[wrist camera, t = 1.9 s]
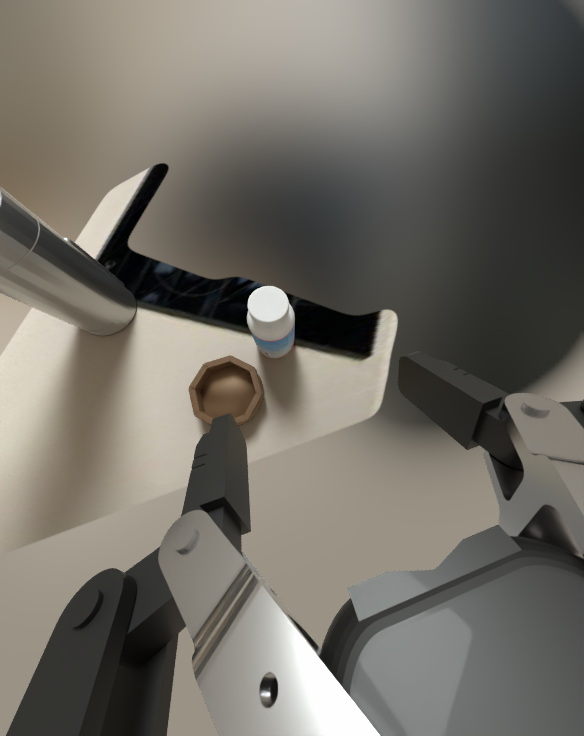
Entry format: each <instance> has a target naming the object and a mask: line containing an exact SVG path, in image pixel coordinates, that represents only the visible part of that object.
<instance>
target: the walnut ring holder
mask: <svg viewBox="0 0 584 736" xmlns="http://www.w3.org/2000/svg"><path fill="white" fill-rule="evenodd" d="M204 364H205V365H204ZM204 364H203V366H202V367H201V369H200V370H199V372H198V374H197V375H196V377H195V378H194V380H193V382H192V383H191V385H190V386H189V393H190V398H191V403H192V407H193V412H194V415H195V416H196V417H198V418H200V419H201V420H203V421H205V422H207V423H209V424H211V423H212V419H213V418H216V417H219V416H222V415H225V414H228V413H231V414H232V415H233V417H234V419H235V421H236V423H237V425H238V426H239V425H242V424H244V423H246V422H247V421H249V420H250V419H251V418H252V417H253V416H254V415H255V414H256V413H257V411H258V410H259V408H260V406H261V403H262V400H263V395H264V394H263V385H262V381H261V379H260V377H259V375H258V374H257V371H256V369H255V368H254V367H253V366H251V365H249V364H247V363H245V362H243V361H241V360H239V359H237V358H235V357H233V356H227V357H224V358H221V359H217V360H214V361H211V362H207V363H204Z"/></svg>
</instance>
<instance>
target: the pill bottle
mask: <svg viewBox="0 0 584 736" xmlns="http://www.w3.org/2000/svg"><path fill="white" fill-rule="evenodd" d="M248 310H249V311H248V314H247V323H248V326H249V329H250V331H251V333H252V336H253V338H254V340H255V343H256V345H257V347H258V349H259V351H260V352H261V353H262V354H263V355H265V356H267V357H269V358H280V357H282V356H284V355H286V354H287V353H288V352H290V350H291V349H292V347H293V344H294V328H295V316H294V311H293V309H292V307H291V305H290V304H289V302H288V298H287V296H286V295H285V293H284V292H283V291H282V290H280V289H278V288H276V287H272V286H265V287H261V288H258V289H257V290H255V291H254V292H253V293H252V294H251V295H250V297H249V300H248Z"/></svg>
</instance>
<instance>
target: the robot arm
mask: <svg viewBox="0 0 584 736" xmlns="http://www.w3.org/2000/svg"><path fill="white" fill-rule="evenodd" d="M0 293H2V294H4V295H6V296H8V297H11V298H13V299H15V300H17V301H20V302H22V303H24V304H27V305H29V306H31V307H33V308H35V309H38V310H40V311H42V312H44V313H47V314H49V315H51V316H53V317H56V318H58V319H60V320H62V321H65V322H67V323H69V324H71V325H74V326H76V327H78V328H81V329H83V330H85V331H87V332H90V333H92V334H95V335H110V334H113V333H116V332H118V331H120V330H122V329H123V328H124V327H126V326H127V325H128V324H129V323H130V321H131V320H132V318H133V317H134V315H135V311H136V300H135V298H134V296H133V295H132V293H131V292H130V291H129V290H127V289H126V288H125V287H124V283H123V282H121V281H120V280H119V279H118V278H116V277H115V276H114V275H113V274H112V273H110V272H109V271H108V270H107V269H106V268H104V267H103V266H102V265H101V264H100V263H98V262H97V261H96V260H95V259H94V258H92V257H91V256H90V255H89V254H88V253H86V252H85V251H84V250H83V249H82V248H80V247H79V246H78V245H77V244H75V243H74V242H73V241H72V240H70V239H69V238H63V237H62V236H61V235H60V234H58V233H57V232H56V231H55V230H53V229H52V228H51V227H50V226H48V225H47V224H46V223H45V222H43V221H42V220H41V219H40V218H39V217H37V216H36V215H35V214H34V213H32V212H31V211H30V210H28V209H27V208H26V207H25V206H24V205H22V204H21V203H19V202H18V201H17V200H16V199H15V198H14V197H12V196H11V195H10V194H9V193H7V192H6V191H5V190H4V189H3V188H1V187H0ZM398 386H399V389H400V391H401V393H402V394H403V395H404V396H405V397H406V398H407V399H408V400H409V401H411V402H412V403H413V404H414V405H415V406H417V408H419V409H420V410H421V411H422V412H423V413H424V414H426V415H427V416H428V417H429V418H430V419H431V420H433V421H434V422H435V423H436V424H437V425H438V426H440V427H441V428H442V429H443V430H444V431H446V432H447V433H448V434H449V435H450V436H451V437H453V438H454V439H455V440H456V441H457V442H458V443H460V444H461V445H462V446H463V447H464V448H465V449H467V450H469V449H471V448H474V447H477V446H479V445H480V446H481V447H483V448H484V452H483V456H484V459H485V462H486V466H487V469H488V472H489V475H490V478H491V481H492V484H493V487H494V491H495V494H496V497H497V500H498V504H499V510H500V513H499V525H496V526H494V527H491V528H489V529H487V530H484V531H482V532H480V533H477V534H475V535H472V536H470V537H468V538H465V539H463V540H462V541H461V542H460V543H459V544H458V546H457V547H456V548H455V549H454V550H453V551H452V552H451V553H450V554H449V555H448V556H447V558H446V559H445V560H444V561H443V562H442V563H441V564H440V565H439V566H438V567H437V568H436V569H434V570H425V571H396V572H395V571H394V572H385V573H382V574H380V575H378V576H376V577H373V578H371V579H368V580H366V581H364V582H361V583H359V584H356V585H354V586H352V587H350V588H348V591H349V594H350V599H349V600H348V601H347V602H346V603H345V604H344V605H343V606H342V608H341V609H340V610H339V612H338V613H337V615H336V616H335V618H334V620H333V621H332V624H331V625H330V627H329V630H328V632H327V634H326V637H325V639H324V643H323V645H322V649H321V648H320V646H319V645H318V644H317V643H316V642H315V640H314V639H313V638H312V637H311V635H310V634H309V633H308V632H307V630H305V628H304V627H303V626H302V624H301V623H300V622H299V621H298V619H297V618H296V617H295V616H294V615H293V613H292V612H291V611H290V610H289V609H288V607H287V606H286V605H285V604H284V603H283V602H282V600H281V599H280V598H279V597H278V595H277V594H276V593H275V592H274V591H273V589H272V588H271V587H270V586H269V584H268V583H267V582H266V581H265V579H264V578H263V577H262V576H261V574H259V572H258V571H257V570H256V568H255V567H254V566H253V565H252V563H251V562H250V561H249V560H248V558H247V557H246V556H245V555H244V553H243V552H242V551H241V535H243V534H246V533H248V532H250V531H251V526H250V506H249V485H248V464H247V448H246V443H245V439H244V437H243V435H242V433H241V431H240V429H239V427H238V425H237V423H236V421H235V419H234V417H233V415H232V414H231V413H228V414H225V415H222V416H219V417H216V418H213V419H212V423H211V430H210V432H209V433H206V434H203V436H202V438H201V439H200V441H199V442H198V444H197V446H196V450H195V454H194V460H193V464H192V471H191V473H190V478H189V483H188V487H187V492H186V497H185V502H184V506H183V511H182V515H181V517H180V518H179V519H178V520H177V521H176V522H175V523H174V524H173V525H172V526H171V527H170V529H169V530H168V532H167V533H166V535H165V537H164V539H163V541H162V543H161V546H160V547H159V548H157V549H156V550H155V551H154V552H152V553H151V554H149V555H148V556H147V557H145V558H144V559H143V560H141V561H140V562H139V563H137V564H136V565H134V566H133V567H132V568H130V569H129V570H128V571H126V572H125V573H124V572H122V571H120V570H118V569H114V568H111V569H107V570H104V571H102V572H100V573H98V574H97V575H95V576H94V577H93V578H91V579H90V580H89V581H88V582H87V583H86V584H85V585H84V586H82V588H81V589H80V590H79V591H78V592H77V593H76V594H75V595H74V597H73V598H72V599H71V601H70V602H69V603H68V605H67V606H66V608H65V609H64V611H63V613H62V615H61V616H60V618H59V620H58V622H57V624H56V627H55V629H54V631H53V633H52V635H51V637H50V639H49V642H48V644H47V646H46V648H45V651H44V653H43V655H42V657H41V659H40V662H39V664H38V666H37V668H36V670H35V673H34V675H33V677H32V679H31V682H30V684H29V686H28V688H27V690H26V693H25V695H24V697H23V699H22V701H21V704H20V706H19V708H18V710H17V713H16V715H15V717H14V719H13V721H12V723H11V726H10V728H9V730H8V732H7V735H6V736H167V727H168V718H169V709H170V701H171V693H172V683H173V676H174V667H175V659H176V650H177V642H178V633H179V632H180V631H181V630H182V629H184V627H186V626H187V629H188V631H189V633H190V635H191V637H192V640H193V643H194V647H195V652H194V654H193V657H192V665H193V670H194V674H195V678H196V681H197V683H198V686H199V688H200V691H201V693H202V696H203V698H204V701H205V703H206V706H207V708H208V710H209V712H210V715H211V718H212V720H213V723H214V725H215V727H216V730H217V733H218V735H219V736H584V400H583V401H572V402H559V403H558V402H556V401H554V400H552V399H549V398H547V397H544V396H540V395H536V394H529V393H516V394H511V395H510V394H508V393H506V392H504V391H502V390H500V389H498V388H496V387H494V386H492V385H490V384H488V383H487V382H485V381H483V380H481V379H479V378H477V377H475V376H473V375H471V374H470V375H469V374H468V373H467V372H465V371H463V370H461V369H458V367H455V366H454V365H452V364H450V363H448V362H445V361H442V360H438V359H434V358H431V357H429V356H427V355H425V354H423V353H421V352H415V353H412V354H409V355H406V356H403V357H401V358H400V360H399V377H398Z"/></svg>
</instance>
